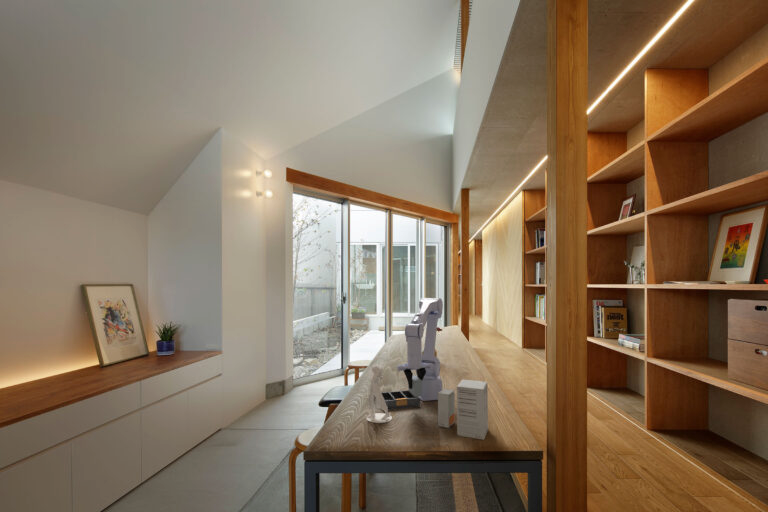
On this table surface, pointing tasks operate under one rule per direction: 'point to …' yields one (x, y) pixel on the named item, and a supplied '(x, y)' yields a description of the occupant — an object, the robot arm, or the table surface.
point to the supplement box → (472, 409)
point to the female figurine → (377, 398)
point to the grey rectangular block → (416, 386)
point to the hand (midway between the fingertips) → (414, 387)
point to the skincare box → (446, 408)
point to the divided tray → (400, 399)
